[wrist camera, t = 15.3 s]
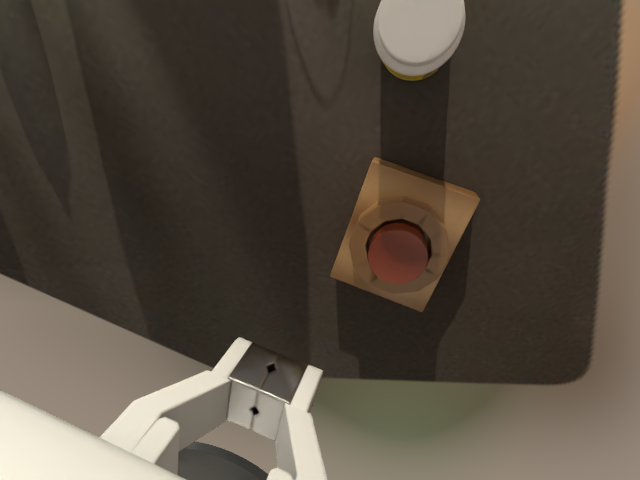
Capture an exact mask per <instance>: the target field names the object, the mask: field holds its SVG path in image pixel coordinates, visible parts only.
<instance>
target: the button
mask: <svg viewBox="0 0 640 480" xmlns="http://www.w3.org/2000/svg"><path fill="white" fill-rule="evenodd" d="M368 261H369V265H370V267H371V269H372V271H373V272H374V273H375V274H376V275H377V276H378V277H379V278H381V279H382V280H384V281H386V282H389V283H393V284H404V283H408V282H411V281H413V280H415V279H416V278H418V277H419V276H420V275H421V274H422V273H423V272H424V270H425V268H426V266H427V262H428V251H427V244H426V240H425V238H424V236H423V235H422V233H421V232H420V231H419V230H418V229H417V228H415V227H414V226H412V225H410V224H407V223H402V222H395V223H390V224H387V225H385V226H383V227H381V228H380V229H379V230H378V231H377V232H376V233H375V234H374V236H373V238H372V240H371V244H370V247H369V251H368Z"/></svg>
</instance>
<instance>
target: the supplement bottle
mask: <svg viewBox="0 0 640 480" xmlns="http://www.w3.org/2000/svg"><path fill="white" fill-rule="evenodd" d="M464 27H465V8H464V0H381V3H380V5H379V7H378V10H377V13H376V17H375V20H374V27H373V38H374V43H375V47H376V50H377V52H378V55H379V56H380V58H381V60H382V62H383V63H384V65H385V67H386V68H387V69H388V71H389V72H390V73H391V74H393V75H394V76H396V77H397V78H399V79H402V80H405V81H419V80H422V79H425V78H427V77H429V76H431V75H433V74H434V73H436V72H437V71H438V70H439V69H440V68H441V67H442V66H443V65H444V64H445V63H446V62H447V61H448V60H449V58H450V57H451V56H452V55H453V53H454V52H455V50H456V49H457V47H458V45H459V43H460V41H461V38H462V35H463V31H464Z"/></svg>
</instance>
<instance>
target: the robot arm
mask: <svg viewBox="0 0 640 480" xmlns="http://www.w3.org/2000/svg"><path fill="white" fill-rule="evenodd" d="M322 374H323V370H321V369H318V368H315V367H313V366H310V365H308V364H306V363H303V362H300V361H298V360H295V359H293V358H290V357H287V356H285V355H282V354H279V353H276V352H274V351H272V350H269V349H267V348H265V347H262V346H260V345H258V344H255V343H252V342H250V341H248V340H245V339H243V338H241V337H239V338H237V339H236V340H235V341H234V343H233V344H232V345H231V346H230V348H229V349H228V350H227V352H226V353H225V354H224V356H223V357H222V358H221V360H220V361H219V362H218V364H217V365H216V366H215V367H214V369H213V370H212V371H211V372H210V371H208V370H207V371H204V372H202V373H199V374H197V375H195V376H192V377H190V378H187V379H185V380H182V381H180V382H178V383H175V384H173V385H171V386H168V387H166V388H163V389H161V390H159V391H156V392H154V393H151V394H149V395H147V396H144V397H142V398H139V399H137V400H135V401H133V402H132V403H131V404H130V405H129V407H128V408H127V409H126V410H125V411H124V412H123V413H122V414H121V415H120V416H119V417H118V418H117V419H116V421H115V422H114V423H113V424H112V425H111V426H110V427H109V428H108V429H107V430H106V431H105V432H104V433H103V435H102V436H101V437H100V438H99V437H97V436H95V435H93V434H91V433H89V432H87V431H85V430H83V429H81V428H79V427H77V426H74V425H72V424H70V423H68V422H66V421H64V420H62V419H60V418H58V417H55V416H54V415H51V414H50V413H47V412H45V411H43V410H41V409H39V408H37V407H35V406H33V405H31V404H29V403H26V402H25V401H23V400H21V399H18V398H16V397H14V396H12V395H10V394H8V393H6V392H4V391H2V390H0V480H187V479H185V478H183V477H180V476H178V452H179V451H180V450H182V449H184V448H185V447H187V446H188V445H190V444H191V443H193V442H194V441H196V440H198V439H199V438H201V437H202V436H204V435H205V434H207V433H208V432H210V431H212V430H213V429H215V428H216V427H218V426H219V425H221V424H222V423H224V422H226V420H228V421H231V422H233V423H236V424H238V425H241V426H243V427H246V428H248V429H250V430H253V431H255V432H257V433H259V434H261V435H263V436H265V437H267V438H270V439H272V440H274V441H276V442H275V446H276V456H277V467H278V468H275V469H272V470H271V471H270V473H269V475H268V477H267V480H327V476H326V472H325V467H324V463H323V459H322V455H321V451H320V447H319V443H318V439H317V435H316V430H315V426H314V422H313V418H312V414H310V412H311V409H312V406H313V403H314V400H315V397H316V394H317V390H318V387H319V384H320V380H321V377H322Z"/></svg>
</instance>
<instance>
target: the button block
mask: <svg viewBox="0 0 640 480" xmlns="http://www.w3.org/2000/svg"><path fill="white" fill-rule="evenodd" d="M479 202H480V198H479V197H478V196H477V194H476V193H475V192H473V191H470V190H468V189H465V188H462V187H459V186H456V185H453V184H451V183H448V182H445V181H442V180H439V179H436V178H434V177H431V176H428V175H425V174H422V173H419V172H417V171H414V170H411V169H408V168H405V167H402V166H400V165H397V164H394V163H391V162H388V161H385V160H382V159H380V158H377V157H374V158H373V160H372V162H371V164H370V167H369V170H368V173H367V175H366V178H365V181H364V184H363V186H362V189H361V192H360V195H359V197H358V200H357V203H356V206H355V208H354V211H353V214H352V217H351V219H350V222H349V225H348V228H347V230H346V233H345V236H344V239H343V241H342V244H341V247H340V250H339V252H338V255H337V258H336V261H335V263H334V266H333V269H332V272H331V274H330V277H333V278H335V279H338V280H340V281H343V282H345V283H348V284H351V285H353V286H356V287H358V288H361V289H363V290H366V291H369V292H371V293H374V294H376V295H379V296H381V297H384V298H386V299H389V300H392V301H394V302H397V303H399V304H402V305H404V306H407V307H410V308H412V309H415V310H417V311H420V312H423V310H424V308H425V306H426V305H427V303H428V301H429V299H430V297H431V295H432V293H433V291H434V289H435V287H436V285H437V283H438V281H439V279H440V277H441V275H442V273H443V271H444V270H445V268H446V266H447V264H448V262H449V260H450V258H451V256H452V254H453V252H454V250H455V248H456V246H457V244H458V242H459V240H460V238H461V236H462V235H463V233H464V231H465V229H466V227H467V225H468V223H469V221H470V219H471V217H472V215H473V213H474V211H475V209H476V207H477V205H478V203H479ZM395 222H402V223H407V224H410V225H412V226H414V227H415V228H417V229H418V230H419V231H420V232H421V233H422V235H423V236H424V238H425V240H426V244H427V251H428V262H427V266H426V268H425V270H424V272H423V273H422V274H421V275H420V276H419V277H418V278H416V279H415V280H413V281H411V282H408V283H404V284H393V283H389V282H386V281H384V280H382V279H381V278H379V277H378V276H377V275H376V274H375V273H374V272H373V271H372V269H371V267H370V265H369V261H368V251H369V247H370V244H371V240H372V238H373V236H374V234H375V233H376V232H377V231H378V230H379V229H380V228H381V227H383V226H385V225H387V224H390V223H395Z"/></svg>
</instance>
